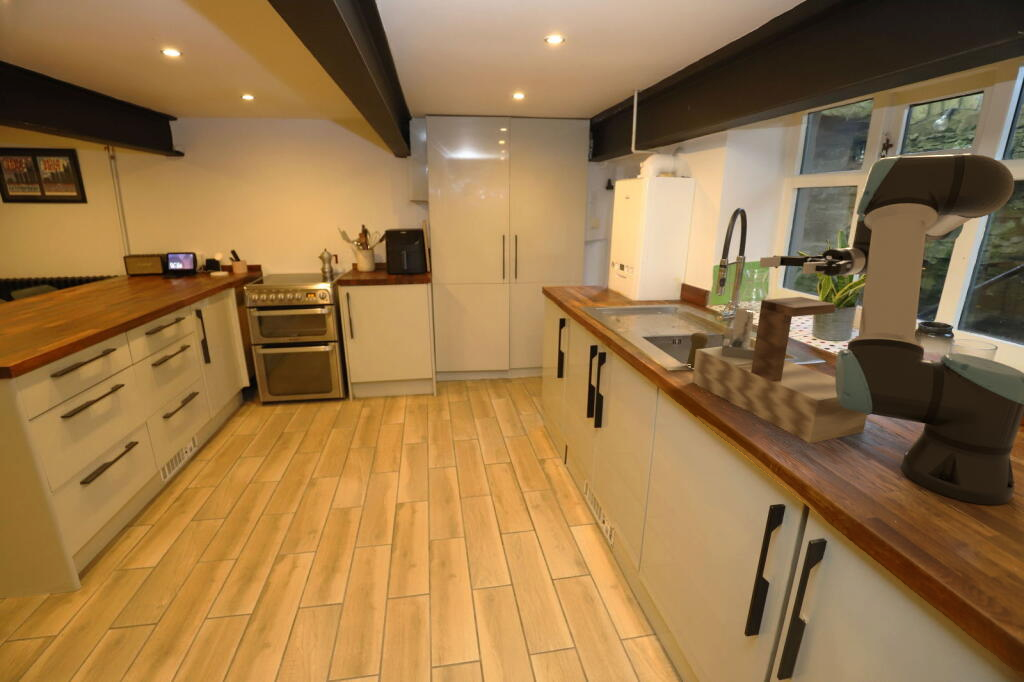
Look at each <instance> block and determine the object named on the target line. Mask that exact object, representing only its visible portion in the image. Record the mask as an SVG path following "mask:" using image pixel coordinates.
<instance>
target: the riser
mask: <svg viewBox="0 0 1024 682" xmlns="http://www.w3.org/2000/svg"><path fill="white" fill-rule="evenodd" d="M749 348H750V349H754V348H753V347H750V346H749ZM698 350H699V349H696V354H695V363H694V370H693V373H692V374H693V375H692V382H693V384H694V383H695V384H694V385H696V384H697V385H696V386H698V387H700V388H703V389H704V390H706V391H708V392H709V393H712V394H713V395H716V396H717V395H718V397H719V396H720V397H719V398H721V397H722V398H721V399H723V398H724V399H723V400H725V399H726V400H725V401H727V400H728V402H729V401H730V402H729V403H730V404H733V405H735V406H737V407H739V408H741V407H742V408H741V409H743V410H744V409H745V411H746V410H747V411H746V412H748V411H749V413H750V412H751V414H752V413H753V415H754V414H755V416H756V415H757V417H758V418H760V419H762V420H764V421H766V422H768V423H770V424H772V425H773V424H774V426H775V425H776V427H777V426H778V427H777V428H779V427H780V429H781V428H782V429H781V430H783V429H784V430H783V431H785V430H786V432H787V431H788V432H787V433H789V432H790V433H789V434H791V433H792V435H793V434H794V435H793V436H795V435H796V436H795V437H797V436H798V437H797V438H799V439H800V438H801V439H800V440H802V439H803V440H802V441H805V442H807V443H808V444H814V443H818V442H823V441H827V440H832V439H833V440H834V439H836V438H837V439H838V438H841V437H847V436H851V435H857V434H862V433H863V432H864V431H865V427H866V421H867V418H868V417H867V416H868V415H866V414H864V413H861V412H857V411H852V410H848V409H845V408H844V407H842V406H841V405H840V403H839V401H838V399H837V394H836V382H835V376H831V375H828V374H826V373H823V372H820V371H817V370H814V369H812V368H809V367H806V366H804V365H801V364H797V363H795V362H792V361H791V360H786V359H785V361H784V367H783V373H782V379H781V380H780V381H774V382H773V381H770V380H768V379H765V378H763V377H761V376H758V375H756V374H753V373H751V370H752V364H748V365H740V366H734V365H732V364H729V363H727V362H725V361H722V360H720V359H717V358H715V357H713V356H710V355H708V354H705V353H703V352H701V351H698Z"/></svg>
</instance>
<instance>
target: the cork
mask: <svg viewBox="0 0 1024 682" xmlns="http://www.w3.org/2000/svg"><path fill="white" fill-rule="evenodd" d="M690 342H691V346H690V350H689V353H688V357H687V362H686V365H687V364H691V365H688V366H691V368H694V363H695V354H696V349H705V348H707V344H708V342H709V336H708V334H707V333H703V332H694V333H692V334H691V335H690Z"/></svg>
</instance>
